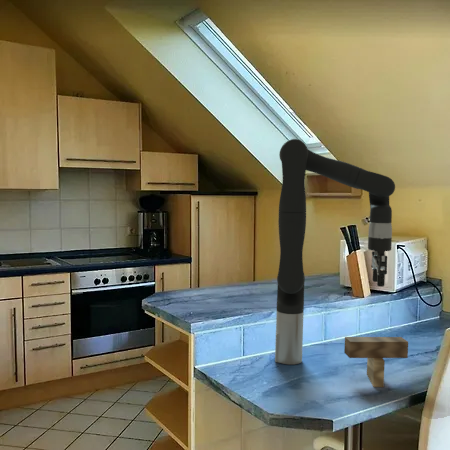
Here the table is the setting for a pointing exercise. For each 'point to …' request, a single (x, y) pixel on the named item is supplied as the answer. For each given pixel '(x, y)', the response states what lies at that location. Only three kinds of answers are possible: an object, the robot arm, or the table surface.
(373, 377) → the fulcrum
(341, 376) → the table surface
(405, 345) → the batten
